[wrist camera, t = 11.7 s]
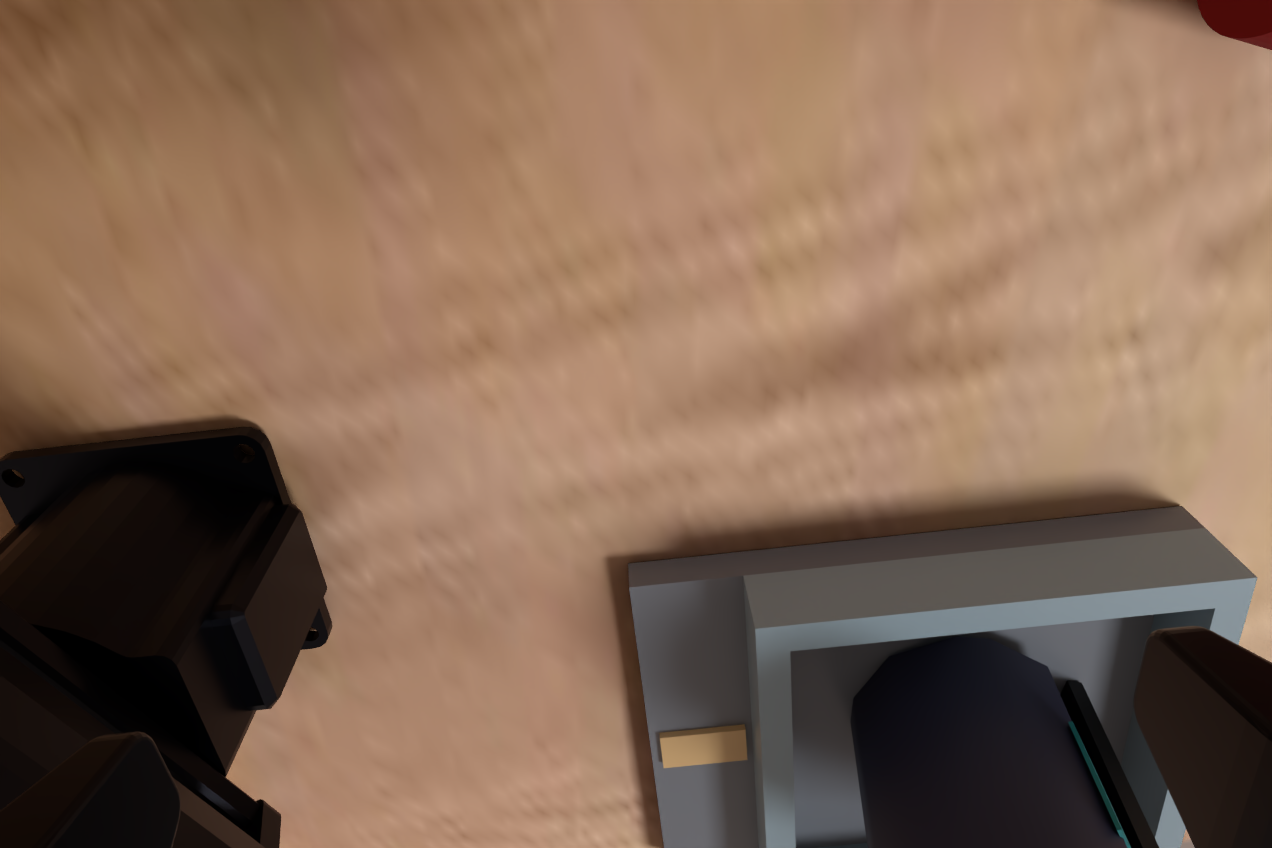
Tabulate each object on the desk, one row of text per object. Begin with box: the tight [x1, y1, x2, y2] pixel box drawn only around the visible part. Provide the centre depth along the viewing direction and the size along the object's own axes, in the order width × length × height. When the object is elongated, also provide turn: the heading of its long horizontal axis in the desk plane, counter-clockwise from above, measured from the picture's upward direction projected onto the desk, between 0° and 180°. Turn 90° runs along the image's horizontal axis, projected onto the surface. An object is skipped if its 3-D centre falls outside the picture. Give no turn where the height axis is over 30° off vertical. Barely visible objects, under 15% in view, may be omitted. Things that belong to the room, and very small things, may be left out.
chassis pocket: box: [628, 506, 1257, 848], centre depth 24 cm, size 14×12×3 cm
